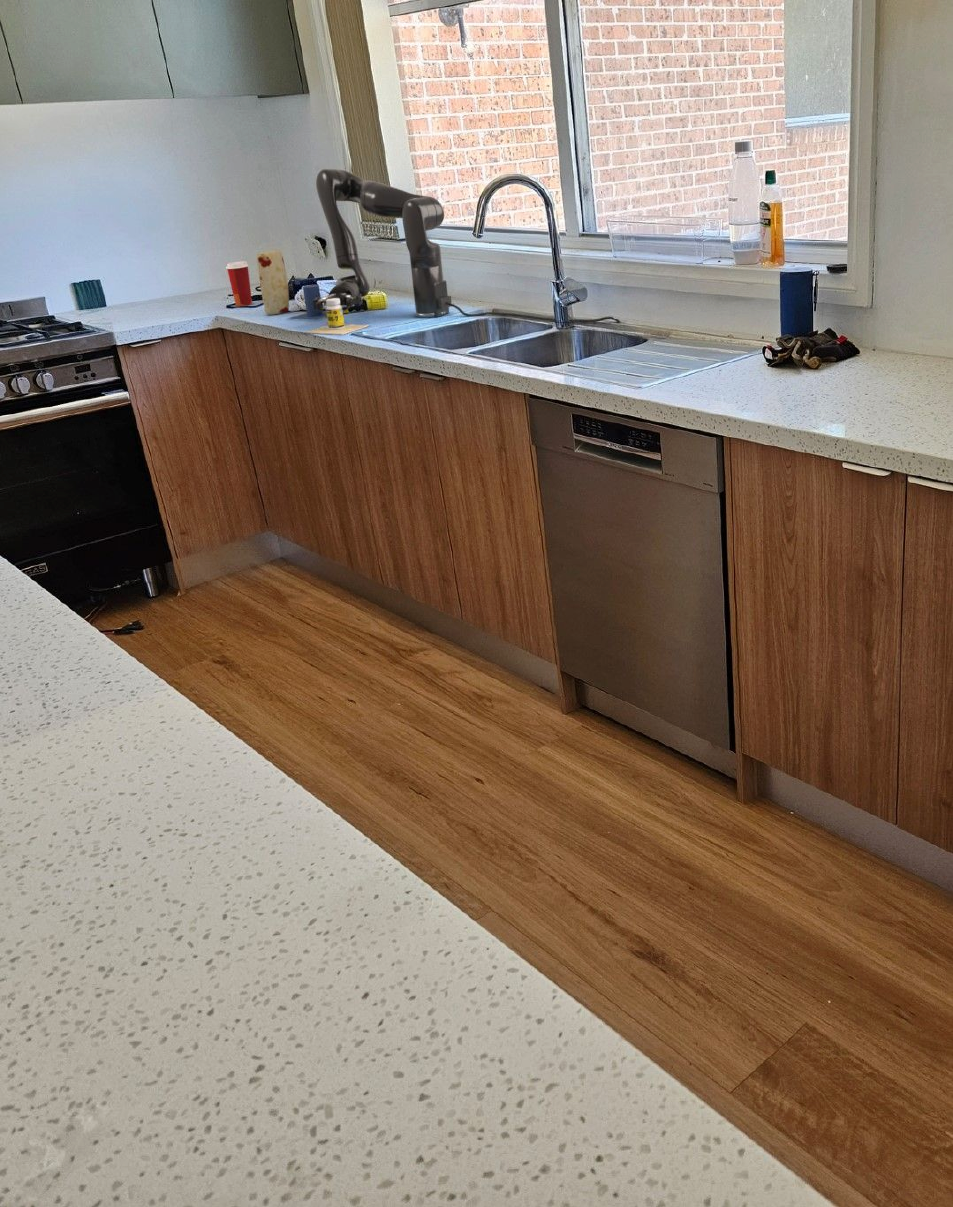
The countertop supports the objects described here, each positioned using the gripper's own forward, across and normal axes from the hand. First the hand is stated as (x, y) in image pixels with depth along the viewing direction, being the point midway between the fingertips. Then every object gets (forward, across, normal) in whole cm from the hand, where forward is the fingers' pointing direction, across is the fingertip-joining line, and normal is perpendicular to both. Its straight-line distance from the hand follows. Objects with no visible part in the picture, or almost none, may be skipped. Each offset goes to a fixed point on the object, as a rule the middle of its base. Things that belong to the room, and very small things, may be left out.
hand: (333, 305), depth 312 cm
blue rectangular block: (-26, -12, +7) cm, 30 cm away
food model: (-36, -26, +7) cm, 45 cm away
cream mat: (-1, 0, +7) cm, 7 cm away
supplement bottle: (-1, 0, +7) cm, 7 cm away
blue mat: (-26, -12, +7) cm, 30 cm away
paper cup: (-60, -44, +7) cm, 75 cm away
